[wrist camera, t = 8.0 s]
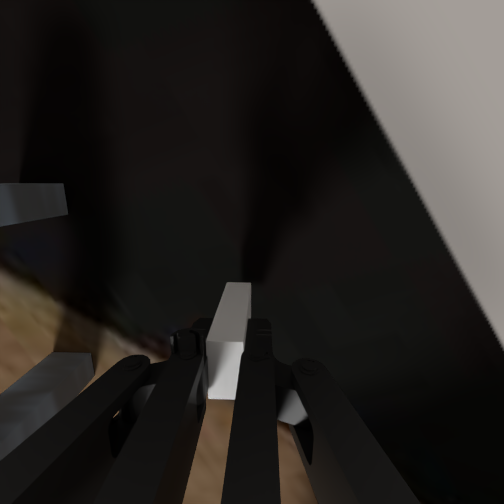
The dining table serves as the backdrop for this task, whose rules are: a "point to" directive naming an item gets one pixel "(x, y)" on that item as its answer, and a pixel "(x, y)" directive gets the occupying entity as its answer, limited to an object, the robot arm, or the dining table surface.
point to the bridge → (55, 364)
